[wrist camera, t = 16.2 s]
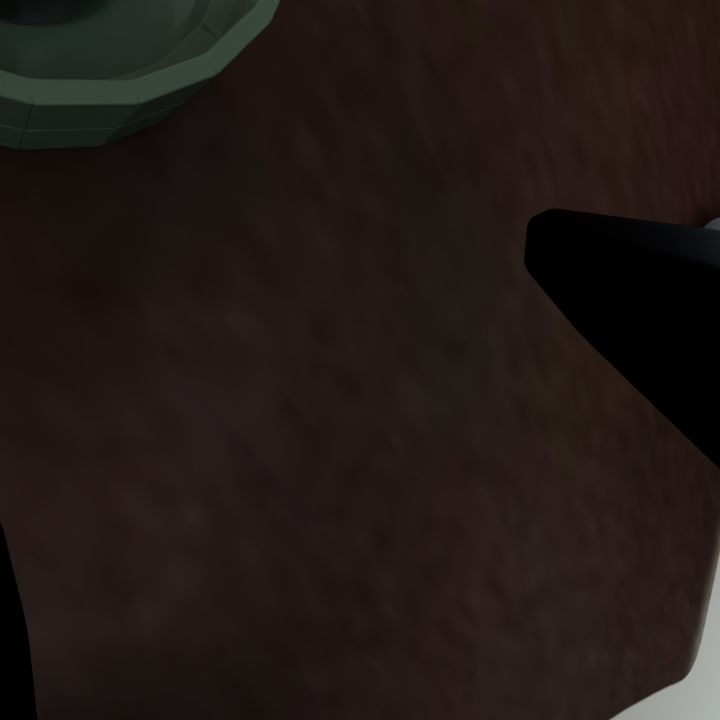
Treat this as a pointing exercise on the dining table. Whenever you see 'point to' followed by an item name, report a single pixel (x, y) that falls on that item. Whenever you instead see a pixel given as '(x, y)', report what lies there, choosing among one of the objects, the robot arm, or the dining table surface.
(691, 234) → the robot arm
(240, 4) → the green round bowl
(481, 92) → the dining table surface
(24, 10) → the supplement bottle
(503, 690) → the dining table surface
